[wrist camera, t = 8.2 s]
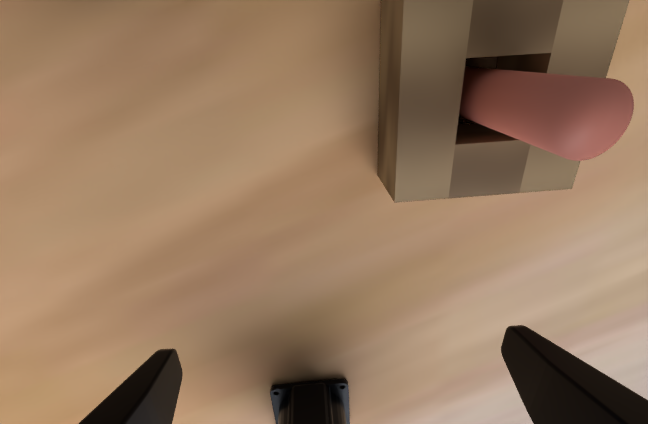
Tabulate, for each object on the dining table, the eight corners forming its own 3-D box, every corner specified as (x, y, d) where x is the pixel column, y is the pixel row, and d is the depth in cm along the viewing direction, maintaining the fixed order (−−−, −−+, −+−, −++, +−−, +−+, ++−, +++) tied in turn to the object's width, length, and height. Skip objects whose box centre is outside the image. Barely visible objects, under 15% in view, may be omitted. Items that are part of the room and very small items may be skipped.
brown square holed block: (523, 164, 20) (572, 188, 16) (377, 175, 20) (394, 202, 16) (562, -12, 16) (638, -31, 12) (380, -2, 16) (404, -18, 12)
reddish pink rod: (478, 111, 18) (617, 157, 10) (436, 114, 18) (543, 163, 10) (485, 65, 17) (646, 75, 9) (440, 68, 17) (563, 81, 9)
